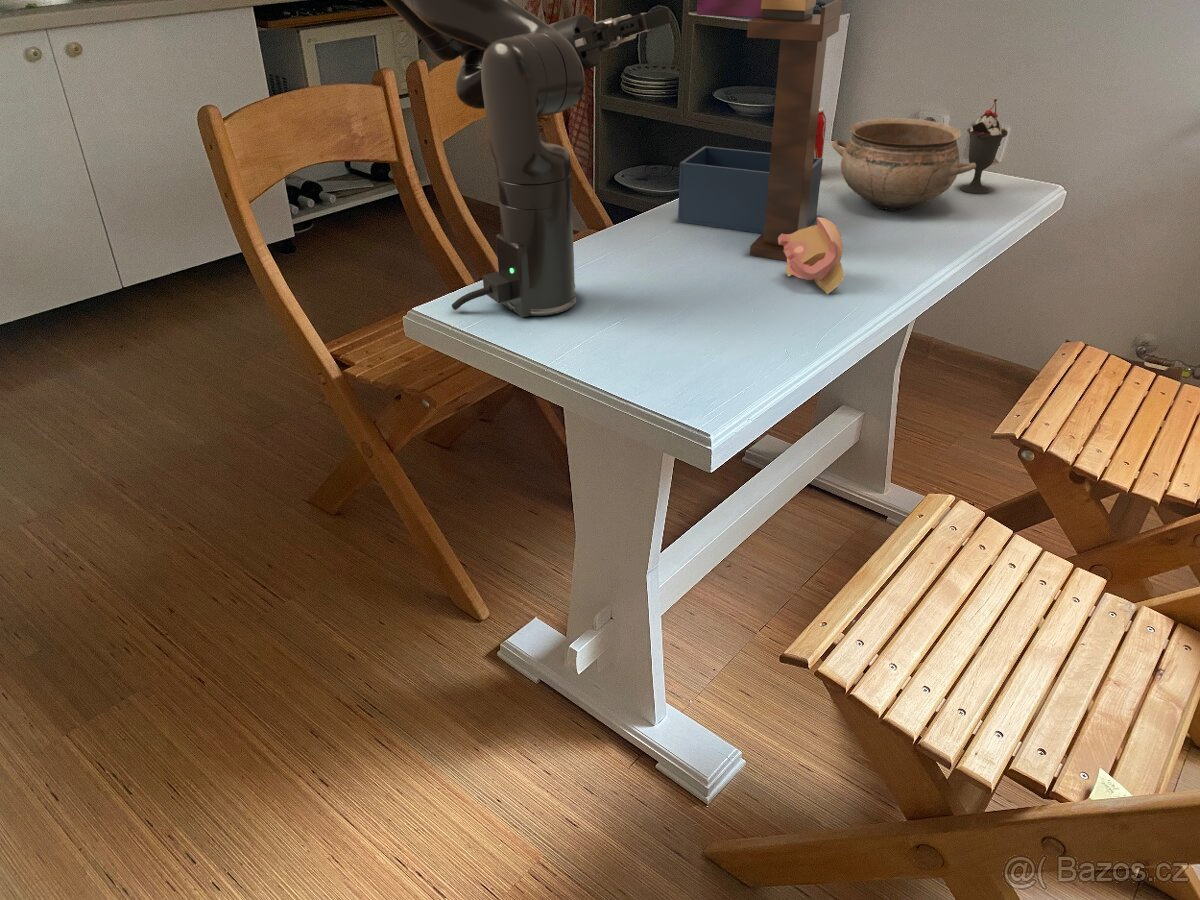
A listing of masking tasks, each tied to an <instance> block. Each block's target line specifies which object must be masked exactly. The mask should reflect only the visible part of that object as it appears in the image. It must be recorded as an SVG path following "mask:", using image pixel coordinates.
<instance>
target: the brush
mask: <svg viewBox="0 0 1200 900" xmlns="http://www.w3.org/2000/svg"><path fill="white" fill-rule="evenodd" d="M816 3H817V0H696V15H697V16H714V17H734V18H735V17H737V18H754V19H755V18H762V19H769V20H791V21H804V20H806V19H808V18H810V17H812V16H813V14H814V7H816V6H817V5H816Z"/></svg>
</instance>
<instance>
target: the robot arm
mask: <svg viewBox="0 0 1200 900" xmlns="http://www.w3.org/2000/svg"><path fill="white" fill-rule="evenodd" d="M382 1H383V2H384V3H385V4H387V5H388V7H390V8H391V9H392V10H393V11H394V12H395V13H396V14H397V15H398V16H399V17H400V18H402V19H403V21H404V22H405V23H406V24H407V25H408V26H409V27H410V28H411V29H412V31H413V32H414V33H415V34H416V35H417V37H418V38H419V39H420V40H421V41H422V42H423V43H424V44H425V46H426V47H427V48H428V50H429V51H430V52H432V54H433V55H434V56H435V57H437V58H438V59H439V60H440V61H444V62H451V61H454V60H456V59H457V58H459V57H460V58H461V60H462V61H461V63H460V67H459V70H458V73H457V76H456V79H455V83H454V84H455V85H454V88H455V93H456V96H457V97H458V99H459V101H460V102H461V103H463V104H464V105H465V106H468V107H469V108H473V109H477V110H483V109H484V113H485V119H486V121H485V122H486V126H487V137H488V143H489V148H490V152H491V155H492V158H493V160H494V164H495V169H496V178H497V191H498V192H497V193H498V204H499V216H500V229H501V233H499V234H496V236H495V244H496V256H497V257H496V258H497V265H498V268H497V269H498V271H495V272H491V273H487V274H484V275H482V285H483V286H482V287H483V288H479V289H476V290H473V291H470V292H468V293H466V294H464V295H462V296H461V297H459V298H458V299H457V300H455V301H454V302H453V303H452V304H451V308H452V309H453V310H454V311H457V310H458V309H459V308H461V307H462V306H463V305H464V304H466V303H468V302H470V301H472V300H474V299H475V300H476V299H478V298H480V297H484V296H487V297H489V298H490V299H492V300H493V301H494V302H496V303H498V304H503V305H504V306H506V308H509V310H511V311H513V312H514V313H516V314H517V315H519V316H520V317H522V318H526V317H527V318H528V317H533V316H534V317H536V316H537V317H538V316H539V317H542V316H551V315H557V314H560V313H563V312H566V311H568V310H570V309H572V308H573V307H574V306H575V305H576V303H577V292H576V281H575V280H576V277H575V252H574V226H573V225H574V224H573V222H574V221H573V220H574V219H573V196H572V194H573V193H572V191H573V190H572V168H571V166H572V165H571V155H570V153H569V151H568V150H567V149H566V148H565V147H564V146H562V145H560V144H557V143H553V142H548V141H543V140H542V139H541V136H540V131H539V124H538V118H543V117H547V116H552V115H556V114H559V113H562V112H564V111H566V110H569V109H571V108H573V107H574V106H575V105H576V104H577V103H578V102H579V100H580V99H581V98H582V96H583V94H584V89H585V84H586V82H585V80H586V79H585V70H590V69H593V68H596V67H597V66H598V65H599V63H600V62H601V59H602V55H603V51H607V50H610V49H613V48H617V47H618V46H619V45H620V44H623V43H626V42H630V41H632V40H635V39H636V38H637V35H639V34H642V33H648V32H650V31H652V30H653V29H655V28H659V27H662V26H664V25H668V24H670V23H671V22H672V15H671V10H670V8H669V6H665V7H661V8H657V9H654V10H652V11H649V12H640V13H639V14H636V15H632V14H630V13H629V14H625V15H622V16H619V17H616V18H612V17H610V18H607V19H603V20H599V21H596V22H594V20H593V18H591V17H590V16H589V15H587V14H585V13H579V14H576V15H573V16H570V17H568V18H563V19H561V20H558V21H556V22H553V23H550V24H548V23H546V22H545V21H543V20H542V19H540V18H539V17H538V16H536V15H534V14H533V13H532V12H530V11H528V10H527V9H526V8H524V7H523V6H521V5H520V4H518V3H517V2H516V1H514V0H382Z"/></svg>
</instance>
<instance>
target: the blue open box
mask: <svg viewBox="0 0 1200 900" xmlns="http://www.w3.org/2000/svg"><path fill="white" fill-rule="evenodd" d="M770 158H771V152H763V151H755V150H744V149H735V148H725V147H715V146H708V145H704V146H702V147H701V148H700V149H698V150H697V151H695V152H694V153H692V154H691V155H689V156H688V157H686V158H685V159H683V160H682V161H680V162H679V171H678V172H679V173H678V176H679V177H678V181H679V182H678V204H677V206H678V208H677V209H678V210H677V222H678V223H684V224H690V225H691V224H692V225H699V226H706V227H712V228H720V229H727V230H734V231H741V232H749V233H755V234H761V235H762V234H763V232H764V229H765V217H766V205H767V193H768V182H769V170H770ZM823 162H824V159H823V157H822V158H814V159H813V168H812V177H811V186H810V195H809V204H808V213H807V222H806V228H807V227H810V225H811V224H812V222H813V221H814V220H815V219H817V213H818V205H819V196H820V187H821V180H822V179H821V178H822V169H823Z"/></svg>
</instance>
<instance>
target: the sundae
mask: <svg viewBox="0 0 1200 900" xmlns="http://www.w3.org/2000/svg"><path fill="white" fill-rule="evenodd" d="M997 101H998V99H997V98H994V99H993V105H992V106H991V108H990V109H986V110H985V112H984V114H983V115H981V116H980V117H978V119H977V120H976V122H975V123H973V124H972V125H971V127H969V128H968V129H966V132H968V134H969V144H968V145H969V146H968V164H969V163H975V164H976V168H975V169H974V175H973V178H972V180H971V182H970V183H967V184H962V185H961V186H960V187H959V189H960V190H961V191H962V192H964V193H969V194H975V195H977V194H987V193H989V192H990V191H991V190H990V188H989V187H988V186H985V185H983V184H982V182H981V181H982V174H983V172H984V171H985V170H986V169H987V168H989V167H990V166H991V165H993V163H994V161H995V158H996V156H997V154H998V150H999V147H1000V145H1001V142H1002V140H1003V138H1005V137H1007V136H1008V134H1009V132H1008V130H1007V129H1006V128H1002V124H1001V122H1000V121H999V120H998V113H997ZM993 108H994V112H993V110H992V109H993Z"/></svg>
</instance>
